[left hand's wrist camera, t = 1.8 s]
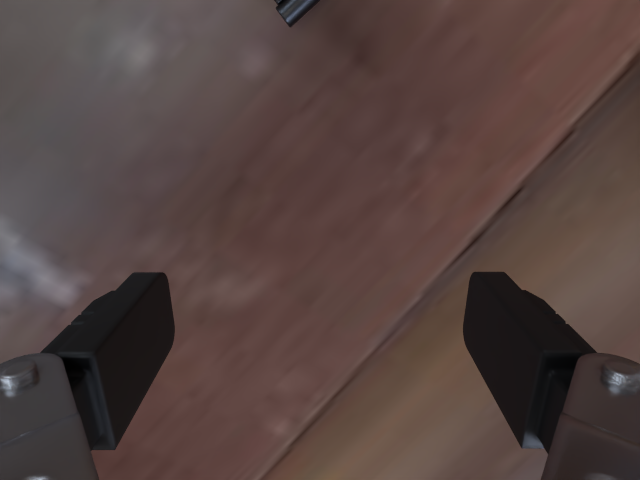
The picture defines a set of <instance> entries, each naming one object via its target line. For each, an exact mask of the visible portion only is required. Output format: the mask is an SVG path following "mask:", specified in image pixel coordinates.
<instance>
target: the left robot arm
mask: <svg viewBox="0 0 640 480" xmlns="http://www.w3.org/2000/svg"><path fill="white" fill-rule="evenodd" d="M174 333H175V326H174V318H173V311H172V304H171V297H170V290H169V283H168V279H167V276H166V274H165V273H163V272H135V273H132V274H131V275H130V276H129V277H128V278H127V279H126V280H125V281H124V282H123V283H122V284H121V285H120V286H119V288H118V289H117V290H116V291H111V292H109V293H107V294H105V295H103V296H101V297H100V298H98V299H96V300H94V301H93V302H92V303H91V304H90V305H89V306H88V307H87V308H86V309H85V310H84V311H83V312H82V314H81V315H78V316H77V317H76V318H75V319H74V320H73V321H72V322H71V325H68V326H67V327H66V328H65V329H64V330H63V331H62V332H61V333H60V334H59V335H58V336H57V337H56V338H55V339H54V340H53V341H52V342H51V343H50V344H49V345H48V346H47V347H46V348H45V349H44V350H43V351H41V352H40V353H35V354H29V355H24V356H20V357H17V358H14V359H11V360H8V361H6V362H3V363H1V364H0V480H99V477H98V474H97V471H96V467H95V464H94V461H93V457H92V454H91V450H115V449H116V447H117V445H118V443H119V442H120V440H121V438H122V436H123V434H124V433H125V431H126V429H127V427H128V425H129V424H130V422H131V420H132V418H133V416H134V415H135V413H136V411H137V409H138V407H139V406H140V404H141V402H142V400H143V398H144V397H145V395H146V393H147V391H148V389H149V388H150V386H151V384H152V382H153V380H154V379H155V377H156V375H157V373H158V371H159V369H160V368H161V366H162V364H163V362H164V360H165V359H166V357H167V355H168V353H169V351H170V350H171V348H172V345H173V341H174ZM463 335H464V341H465V345H466V347H467V349H468V351H469V353H470V355H471V357H472V358H473V360H474V362H475V364H476V366H477V368H478V369H479V371H480V373H481V375H482V377H483V379H484V380H485V382H486V384H487V386H488V388H489V389H490V391H491V393H492V395H493V397H494V399H495V400H496V402H497V404H498V406H499V408H500V410H501V411H502V413H503V415H504V417H505V419H506V421H507V422H508V424H509V426H510V428H511V430H512V431H513V433H514V435H515V437H516V439H517V441H518V442H519V444H520V446H521V448H545V450H546V452H547V453H548V457H547V461H546V464H545V467H544V471H543V474H542V477H541V480H640V364H639V363H637V362H634V361H632V360H629V359H626V358H623V357H620V356H616V355H611V354H605V353H597V352H596V351H595V350H594V349H593V348H592V347H591V346H590V345H589V344H588V343H587V342H586V341H585V340H584V339H583V338H582V337H581V336H580V335H579V334H578V333H577V332H576V331H575V330H574V329H573V328H572V327H571V326H570V325H569V324H566V323H565V321H564V320H563V319H562V318H561V317H560V316H559V315H558V314H556V313H555V311H554V310H553V309H552V308H551V307H550V306H549V305H548V304H547V303H546V302H545V301H544V300H543V299H541V298H539V297H537V296H535V295H533V294H532V293H530V292H528V291H526V290H521V289H520V288H519V287H518V286H517V284H516V283H515V282H514V281H513V280H512V279H511V278H510V277H509V276H508V275H507V274H506V273H505V272H473V273H472V275H471V277H470V281H469V288H468V295H467V302H466V309H465V316H464V323H463Z"/></svg>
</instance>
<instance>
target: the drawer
mask: <svg viewBox="0 0 640 480" xmlns="http://www.w3.org/2000/svg"><path fill="white" fill-rule="evenodd" d="M319 1H320V0H275V2H276V3H277V4H278V6H277V7H276V10H277V11H278V12H279V14H280V15H281V16H282V18H283V19H284V20H285V22H286V23H287V24H288V26H289V27H292V26H293V25H294V24H295V23H296V22H297V21H298V20H299V19H300V18H301V17H302V16H303V15H305V14H306V13H307V12H308V11H309V10H310V9H311V8H312V7H313V6H314V5H315V4H317V3H318V2H319Z"/></svg>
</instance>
